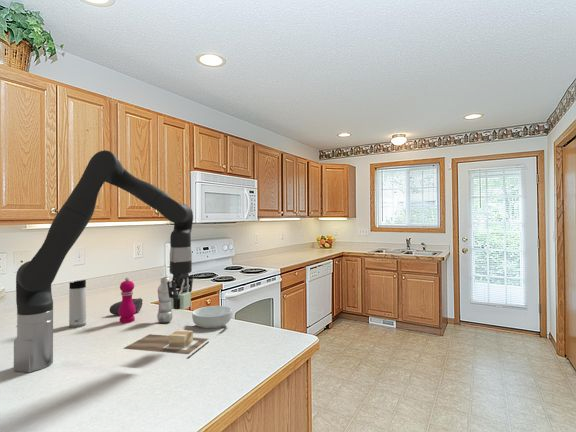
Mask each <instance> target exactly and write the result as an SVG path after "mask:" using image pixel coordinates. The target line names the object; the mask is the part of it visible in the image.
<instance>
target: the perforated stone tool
mask: <svg viewBox="0 0 576 432" xmlns="http://www.w3.org/2000/svg"><path fill="white" fill-rule="evenodd" d="M132 301H133V303H134V306H135V308H136V313H139V312H140V311H141V309H142V307H143V299H142V298H140V297H139V298H132ZM121 303H122V300H120V301H118V302H116V303H115V302H114V303H113V304H112V305H111V306H110V307H109V313H110V314H112V315H114V316H120V315H119V314H118V312H119V308H120V306H121Z"/></svg>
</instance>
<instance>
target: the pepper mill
mask: <svg viewBox="0 0 576 432" xmlns="http://www.w3.org/2000/svg"><path fill="white" fill-rule="evenodd" d="M134 289H135V283H134V282H133V281H131V280H130V278H129V277H125V278H124V281H122V282H121V283H120V284H119V290H120V291H121V292H120V294H121V295H120V296H121V301H122V303H121V306H120V308H119V312H118V314H119V315H118V316H119V323H120V324H129V323H134V322H135V320H136V319H135V318H136V317H135V316H134V315H135V314H137V312H136V308H135V306H134V303H133V301H132V299H133V294H134V291H133V290H134Z"/></svg>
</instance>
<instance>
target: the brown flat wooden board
mask: <svg viewBox="0 0 576 432" xmlns="http://www.w3.org/2000/svg"><path fill="white" fill-rule="evenodd" d="M208 340H209V338H207V337H206V338H204V337H202V338H201V337H193V342H192V343H191V344H189V345H188V346H186V347H185V348H179V347H169V335H164V334H151V333H150V334H147V335H145V336H143V337H141V338H140V339H138V340H136V341H134V342H132V343H131V344H128V345H126V346H124V347H123V348H122V349H124V350H136V351H147V352H158V353H172V354H181V355H182V354H183V355H189V354H190V355H189V356H187V357H186V359H188V360H189V359H190V358H191V357H193V356H194V355H195V354H196V353H197V352H199V351H200V350H201V349H203V348H204V347H205V346H206V345H208V344H209V343H210V342H209V341H208ZM206 341H207V342H206ZM193 351H194V352H193Z"/></svg>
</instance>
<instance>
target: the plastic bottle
mask: <svg viewBox="0 0 576 432" xmlns="http://www.w3.org/2000/svg"><path fill="white" fill-rule="evenodd" d="M168 281H169V282H170V277H168V276H166V277H165V276H164V277H163V276H162V277H160V284H159V286H158V287H157V297H158V310H157V311H158V312H157V315H156V316H157V317H156V318H157V321H158V322H159V323H163V324H164V323H166V324H167V323H170V322H171V321H172V320H173V309H171V298H169V292H168V286H167V282H168Z"/></svg>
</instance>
